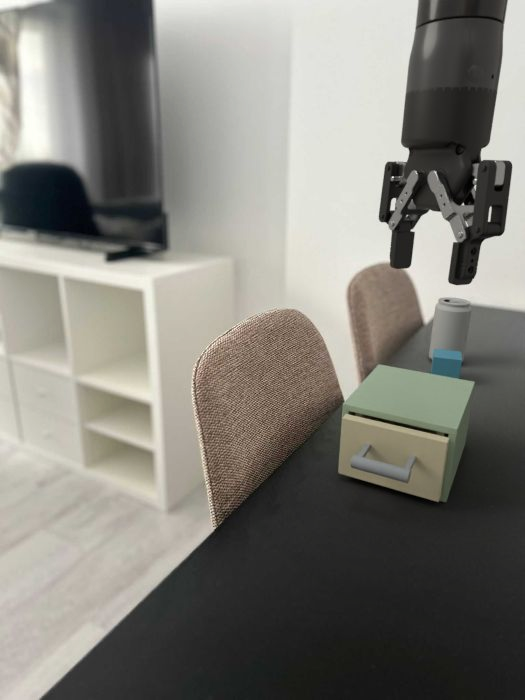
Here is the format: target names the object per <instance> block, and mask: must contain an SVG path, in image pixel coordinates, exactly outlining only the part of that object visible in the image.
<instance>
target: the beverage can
mask: <svg viewBox="0 0 525 700" xmlns="http://www.w3.org/2000/svg"><path fill="white" fill-rule="evenodd" d="M471 304H472V303H471V301H470V300H469V299H468V300H467V299H464V298H460V297H449V296H448V297H445V296H444V297H440V298H438V300H437V303H436V304H435V307H434V312H433V321H432V329H431V335H430V344H429V351H428V357H429V359H431V361H432V360H433V352H434V349H441V350H451V351H460V352H461V354H462V363H463V362H464V360H465V356H466V349H467V342H468V335H469V330H470V322H471V317H472V306H471Z"/></svg>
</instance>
